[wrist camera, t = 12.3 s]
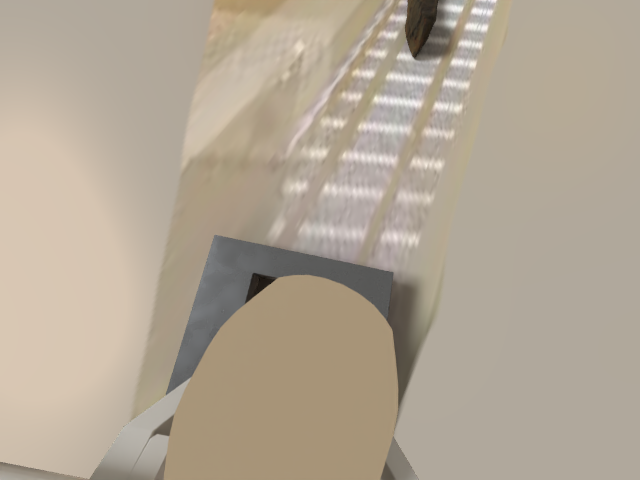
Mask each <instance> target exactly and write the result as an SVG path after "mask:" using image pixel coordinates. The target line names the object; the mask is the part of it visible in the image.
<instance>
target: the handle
mask: <svg viewBox="0 0 640 480" xmlns="http://www.w3.org/2000/svg"><path fill="white" fill-rule="evenodd" d="M397 414H398V378H397V367H396V357H395V348H394V339H393V331H392V328H391V327H390V325H389V324H388V322H387V321H386V319H385V318H384V316H383V315H382V314H381V313H380V312H379V311H378V309H377V308H376V307H375V306H374V305H373V304H372V303H371V302H369V301H368V300H367V299H365V298H364V297H363V296H362V295H360V294H359V293H357V292H355V291H353V290H352V289H350V288H348V287H346V286H345V285H343V284H340V283H337V282H334V281H332V280H329V279H326V278H322V277H317V276H312V275H291V276H285V277H279V278H278V279H276V280H275V281H274V282H272V283H271V284H270V285H269V286H267V287H266V288H265V289H263V290H262V291H261V292H260V293H258V294H257V295H256V296H254V297H253V298H252V299H251V300H250V301H248V302H247V303H246V304H245V305H244V306H242V307H241V308H240V309H239V310H237V311H236V312H235V313H234V314H233V315H232V316H231V317H230V318H229V319H228V320H227V321H226V322H225V323H224V324H223V325H222V326H221V328H220V329H219V331H218V332H217V334H216V335H215V337H214V338H213V340H212V341H211V343H210V344H209V346H208V348H207V349H206V351H205V353H204V355H203V357H202V359H201V361H200V362H199V364H198V366H197V368H196V370H195V372H194V374H193V375H192V377H191V379H190V381H189V383H188V385H187V387H186V388H185V390H184V393H183V395H182V397H181V400H180V402H179V404H178V407H177V409H176V411H175V414H174V418H173V422H172V427H171V431H170V435H169V440H168V448H167V455H166V463H165V471H164V480H380V479H381V475H382V472H383V468H384V465H385V462H386V458H387V455H388V451H389V448H390V444H391V441H392V438H393V434H394V429H395V424H396V419H397Z"/></svg>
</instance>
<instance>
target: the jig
mask: <svg viewBox="0 0 640 480" xmlns="http://www.w3.org/2000/svg"><path fill="white" fill-rule="evenodd" d="M291 275H312V276H317V277H322V278H326V279H329V280H332V281H334V282H337V283H340V284H343V285H345V286H346V287H348V288H350V289H352V290H353V291H355V292H357V293H359V294H360V295H362V296H363V297H364V298H365V299H367V300H368V301H369V302H371V303H372V304H373V305H374V306H375V307H376V308H377V309H378V311H379V312H380V313H381V314H382V315H383V316H384V318H385V319H386V321H387V318H388V311H389V303H390V295H391V288H392V280H393V272H389V271H384V270H379V269H375V268H370V267H365V266H360V265H355V264H351V263H346V262H341V261H336V260H332V259H327V258H322V257H317V256H313V255H308V254H303V253H298V252H294V251H289V250H284V249H279V248H275V247H270V246H265V245H260V244H256V243H251V242H246V241H241V240H237V239H232V238H227V237H222V236H218V235H215V236H214V239H213V242H212V245H211V249H210V252H209V255H208V258H207V262H206V265H205V268H204V272H203V275H202V278H201V281H200V285H199V288H198V291H197V294H196V298H195V301H194V304H193V307H192V311H191V314H190V317H189V321H188V324H187V327H186V330H185V334H184V337H183V340H182V343H181V347H180V350H179V353H178V356H177V360H176V363H175V366H174V369H173V373H172V376H171V379H170V383H169V386H168V389H167V392H166V395H167V394H169V393H170V392H171V391H173V390H174V389H176V388H177V387H178V386H180V385H181V384H182V383H184V382H185V381H187V380H188V379H189V378H191V377H192V375H193V374H194V372H195V370H196V368H197V366H198V364H199V362H200V361H201V359H202V357H203V355H204V353H205V351H206V349H207V348H208V346H209V344H210V343H211V341H212V340H213V338H214V337H215V335H216V334H217V332H218V331H219V329H220V328H221V326H222V325H223V324H224V323H225V322H226V321H227V320H228V319H229V318H230V317H231V316H232V315H233V314H234V313H235V312H236V311H237V310H239V309H240V308H241V307H242V306H244V305H245V304H246V303H247V302H248V301H250V300H251V299H252V298H253V297H254V296H255V293H256V289H257V285H258V281H259V277H263V278H268V279H273V280H276V279H278V278H279V277H285V276H291Z"/></svg>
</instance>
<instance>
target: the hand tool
mask: <svg viewBox="0 0 640 480" xmlns="http://www.w3.org/2000/svg"><path fill="white" fill-rule="evenodd" d="M437 5H438V0H408V8H407V20H406V25H405V32H406V38H407V42H408V45H409V48H410V51H411V54H412V56H413V57H414V58H415V57H416V56H417V55H418V53H419V52H420V50H421V48H422V46H423V45H424V44H425V42H426V41H427V39H428V37H429V34H430V32H431V30H432V27H433V25H434V23H435V21H436V14H437Z"/></svg>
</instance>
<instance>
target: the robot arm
mask: <svg viewBox="0 0 640 480" xmlns="http://www.w3.org/2000/svg"><path fill="white" fill-rule="evenodd" d="M190 379H191V378H189V379H188V380H187V381H185V382H184V383H182V384H181V385H180V386H178V387H177V388H176V389H174V390H173V391H171V392H170V393H169V394H167V395H166V396H165V397H163V398H162V399H160V400H159V401H158V402H156V403H155V404H154V405H152V406H151V407H150V408H148V409H147V410H145V411H144V412H143V413H141V414H140V415H139V416H137V417H136V418H134V419H133V420H132V421H130V422H129V423H128V424H126V425H125V426H124V427H123V429H122V431H121V432H120V434H119V435H118V437H117V438H116V440H115V441H114V443H113V444H112V446H111V447H110V449H109V450H108V452H107V453H106V455H105V456H104V458H103V459H102V461H101V462H100V464H99V466H98V467H97V468H96V470H95V471H94V473H93V475H92V476H91V478H90V479H84V478H80V477H75V476H70V475H64V474H59V473H54V472H49V471H44V470H39V469H34V468H28V467H23V466H18V465H13V464H8V463H3V462H0V480H164V471H165V463H166V455H167V448H168V440H169V435H170V431H171V427H172V422H173V418H174V414H175V411H176V409H177V407H178V404H179V402H180V400H181V397H182V395H183V393H184V390H185V388H186V387H187V385H188V383H189V381H190ZM380 480H419V479H418V477H417V476H416V474H415V472H414V471H413V469H412V467H411V466H410V464H409V462H408V460H407V459H406V457H405V455H404V454H403V452H402V451H401V449H400V447H399V445H398V444H397V442H396V440H395V439H394V437H393V438H392V441H391V444H390V448H389V451H388V455H387V458H386V462H385V465H384V468H383V472H382V475H381V479H380Z"/></svg>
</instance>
